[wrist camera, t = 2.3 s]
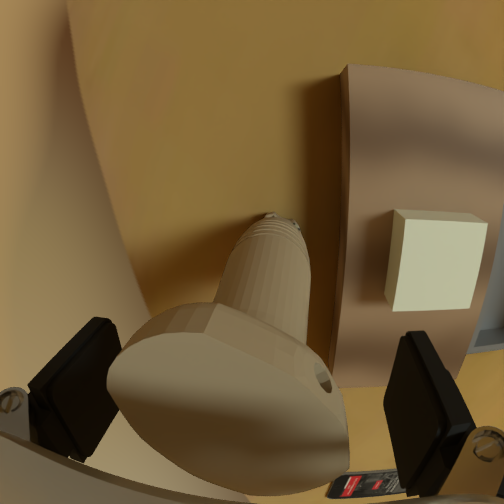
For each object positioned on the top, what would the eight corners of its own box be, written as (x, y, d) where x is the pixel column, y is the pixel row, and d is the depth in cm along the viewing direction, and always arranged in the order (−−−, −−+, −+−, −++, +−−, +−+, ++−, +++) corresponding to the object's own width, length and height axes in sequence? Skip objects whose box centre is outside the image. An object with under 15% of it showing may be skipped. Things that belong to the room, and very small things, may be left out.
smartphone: (336, 475, 29) (451, 462, 27) (336, 470, 30) (450, 457, 28) (325, 499, 32) (429, 488, 30) (326, 494, 32) (428, 484, 30)
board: (340, 73, 16) (347, 63, 14) (482, 95, 15) (507, 92, 12) (328, 361, 23) (330, 387, 21) (444, 355, 22) (456, 379, 19)
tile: (393, 209, 16) (405, 218, 14) (470, 213, 15) (487, 223, 13) (384, 293, 18) (392, 311, 16) (456, 292, 17) (469, 308, 15)
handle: (275, 171, 19) (216, 287, 5) (336, 253, 20) (384, 464, 6) (214, 218, 20) (76, 381, 7) (275, 292, 22) (240, 504, 8)
